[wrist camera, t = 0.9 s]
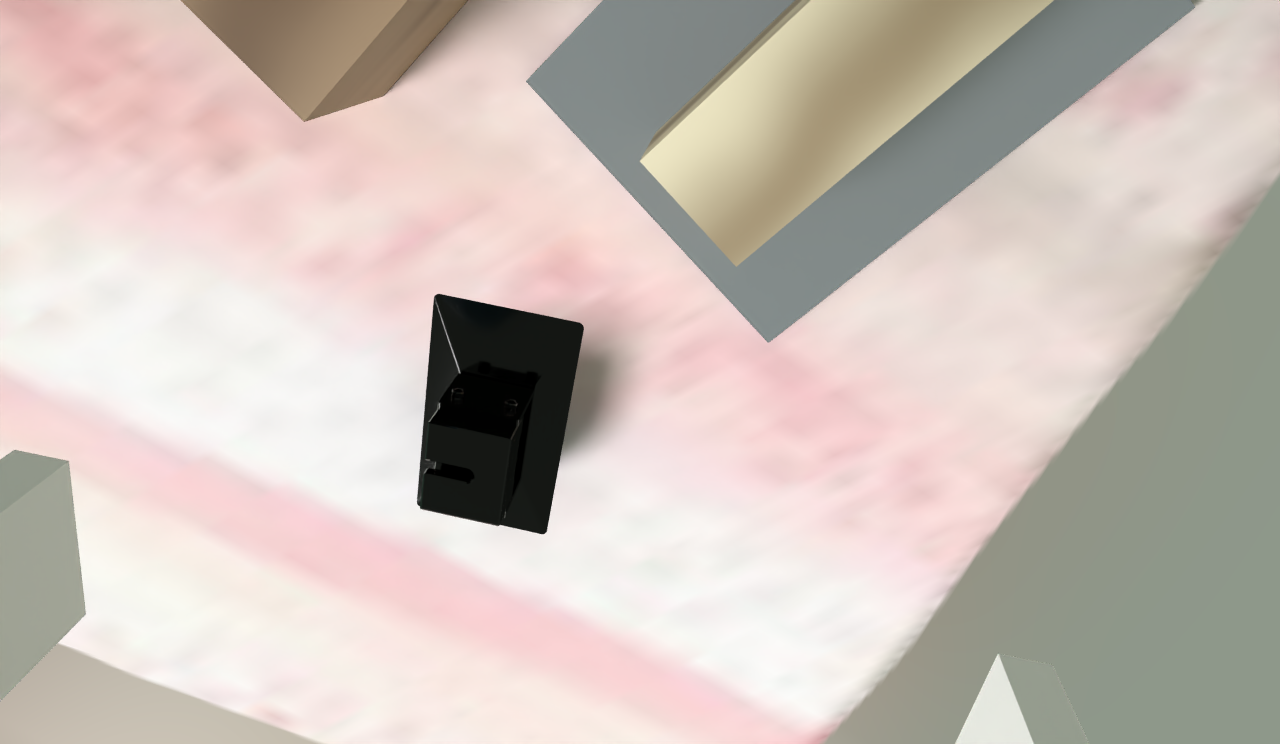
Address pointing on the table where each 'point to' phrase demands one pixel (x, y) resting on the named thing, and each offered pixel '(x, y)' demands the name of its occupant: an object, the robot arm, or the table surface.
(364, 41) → the walnut cube
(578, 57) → the mat
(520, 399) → the black plastic holder
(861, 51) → the plinth
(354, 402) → the table surface
